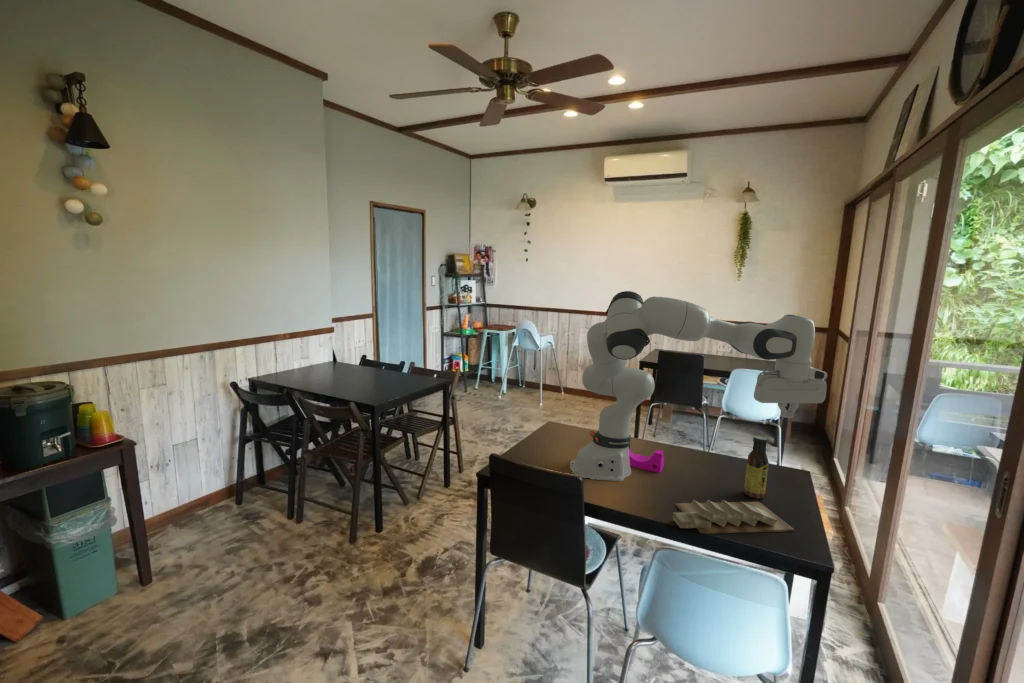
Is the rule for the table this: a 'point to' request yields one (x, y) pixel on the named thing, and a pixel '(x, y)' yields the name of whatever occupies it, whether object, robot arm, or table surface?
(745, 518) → the domino
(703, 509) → the domino
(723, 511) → the domino
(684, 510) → the board
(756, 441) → the sauce bottle
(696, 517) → the domino
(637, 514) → the table surface
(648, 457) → the toy block
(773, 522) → the domino
